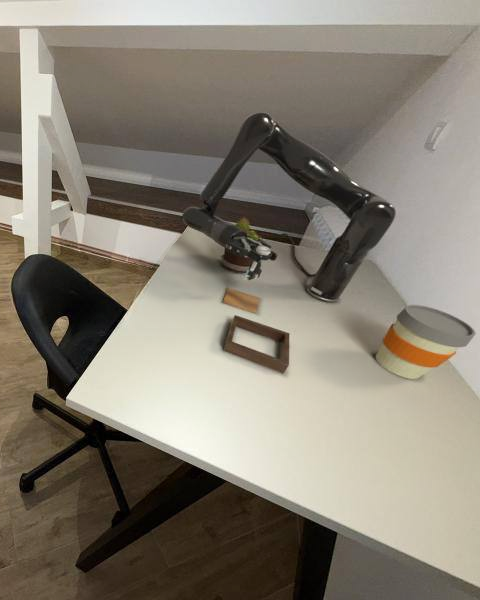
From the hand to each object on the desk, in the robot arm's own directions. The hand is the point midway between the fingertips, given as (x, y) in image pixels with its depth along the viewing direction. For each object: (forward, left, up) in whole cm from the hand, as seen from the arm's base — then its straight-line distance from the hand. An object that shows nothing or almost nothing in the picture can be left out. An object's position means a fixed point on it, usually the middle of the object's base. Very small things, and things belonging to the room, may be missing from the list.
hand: (267, 258), depth 90 cm
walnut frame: (+20, +4, -16) cm, 27 cm away
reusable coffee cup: (+6, +37, -17) cm, 41 cm away
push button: (-2, -2, -8) cm, 9 cm away
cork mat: (-2, -2, -16) cm, 17 cm away
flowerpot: (-27, -7, -17) cm, 32 cm away
